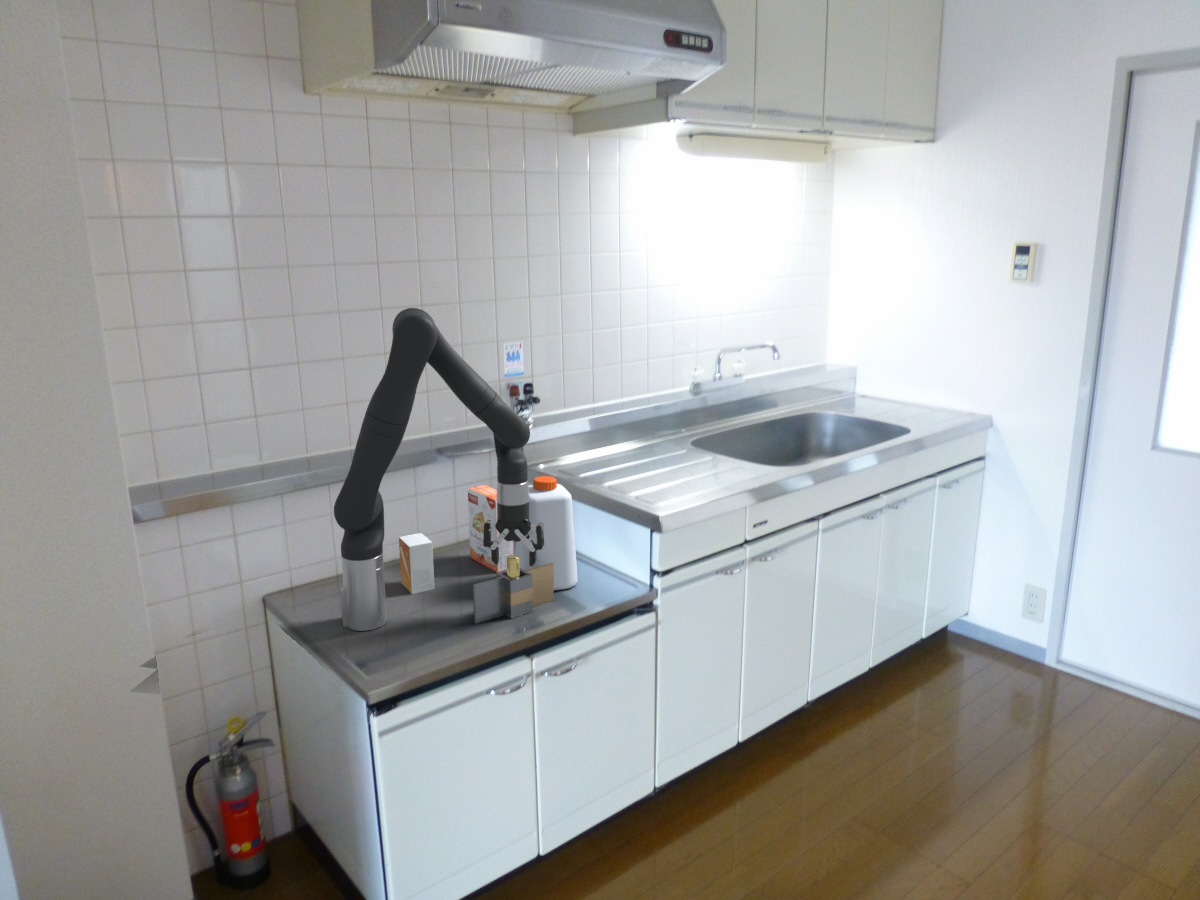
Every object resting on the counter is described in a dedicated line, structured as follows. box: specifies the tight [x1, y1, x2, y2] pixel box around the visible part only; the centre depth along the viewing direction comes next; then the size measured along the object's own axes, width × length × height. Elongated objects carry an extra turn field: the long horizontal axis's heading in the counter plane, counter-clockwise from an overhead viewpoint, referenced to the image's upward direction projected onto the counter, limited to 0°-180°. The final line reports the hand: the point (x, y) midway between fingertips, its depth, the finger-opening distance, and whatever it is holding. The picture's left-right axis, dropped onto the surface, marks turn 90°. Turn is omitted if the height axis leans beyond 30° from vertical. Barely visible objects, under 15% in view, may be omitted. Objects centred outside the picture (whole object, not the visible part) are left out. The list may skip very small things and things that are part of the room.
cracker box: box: [467, 484, 515, 574], centre depth 237 cm, size 14×6×21 cm, turn 39°
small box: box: [398, 532, 435, 595], centre depth 222 cm, size 8×6×13 cm
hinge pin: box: [507, 554, 520, 579], centre depth 208 cm, size 3×3×14 cm
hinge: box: [472, 563, 555, 625], centre depth 209 cm, size 22×6×10 cm, turn 128°
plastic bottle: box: [514, 475, 579, 591], centre depth 224 cm, size 15×15×28 cm
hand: (514, 564), depth 207 cm, fingers open, 8 cm apart
